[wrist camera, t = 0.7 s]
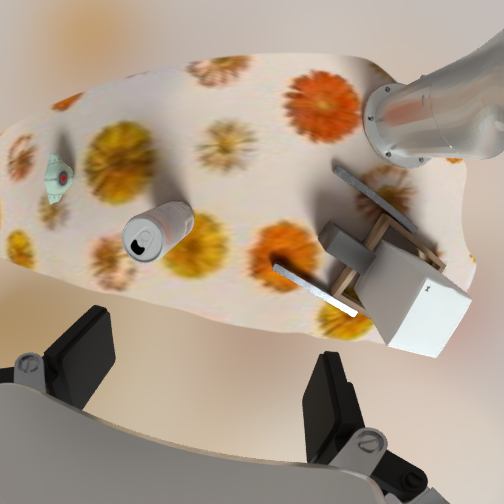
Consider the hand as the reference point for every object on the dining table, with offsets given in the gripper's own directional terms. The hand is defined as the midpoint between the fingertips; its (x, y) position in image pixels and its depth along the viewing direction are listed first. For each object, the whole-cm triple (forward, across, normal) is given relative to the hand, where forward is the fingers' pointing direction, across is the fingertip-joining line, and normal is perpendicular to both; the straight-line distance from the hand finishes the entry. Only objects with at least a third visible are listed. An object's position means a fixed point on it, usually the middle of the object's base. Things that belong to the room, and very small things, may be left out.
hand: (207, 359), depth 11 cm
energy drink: (+29, +11, +1) cm, 31 cm away
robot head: (+29, +30, -3) cm, 42 cm away
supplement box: (+29, -22, +4) cm, 37 cm away
